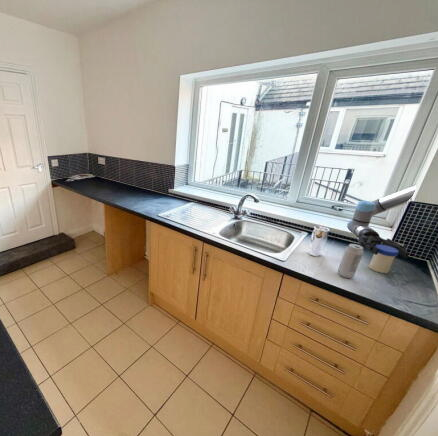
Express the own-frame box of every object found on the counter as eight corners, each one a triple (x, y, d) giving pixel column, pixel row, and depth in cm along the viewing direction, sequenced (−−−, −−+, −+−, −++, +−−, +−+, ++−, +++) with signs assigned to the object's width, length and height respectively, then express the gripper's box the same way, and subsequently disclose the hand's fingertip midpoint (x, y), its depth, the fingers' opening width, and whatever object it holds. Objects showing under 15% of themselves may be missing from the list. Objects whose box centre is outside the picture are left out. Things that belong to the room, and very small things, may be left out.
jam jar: (380, 265, 120) (388, 246, 117) (393, 273, 114) (401, 253, 110) (365, 264, 121) (372, 245, 117) (376, 272, 114) (384, 252, 110)
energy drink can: (343, 270, 115) (354, 242, 110) (356, 277, 110) (368, 248, 104) (333, 271, 114) (344, 244, 108) (346, 279, 109) (358, 250, 103)
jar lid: (383, 256, 111) (384, 251, 110) (370, 248, 118) (371, 244, 117) (401, 257, 110) (403, 253, 109) (387, 249, 117) (389, 245, 117)
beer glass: (309, 248, 135) (316, 224, 130) (323, 254, 130) (332, 228, 125) (304, 253, 131) (311, 228, 125) (319, 258, 126) (327, 232, 120)
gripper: (390, 244, 128) (420, 265, 108) (339, 238, 134) (359, 257, 114) (395, 231, 125) (427, 250, 105) (343, 225, 131) (364, 242, 112)
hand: (391, 253), depth 110 cm, fingers open, 10 cm apart
